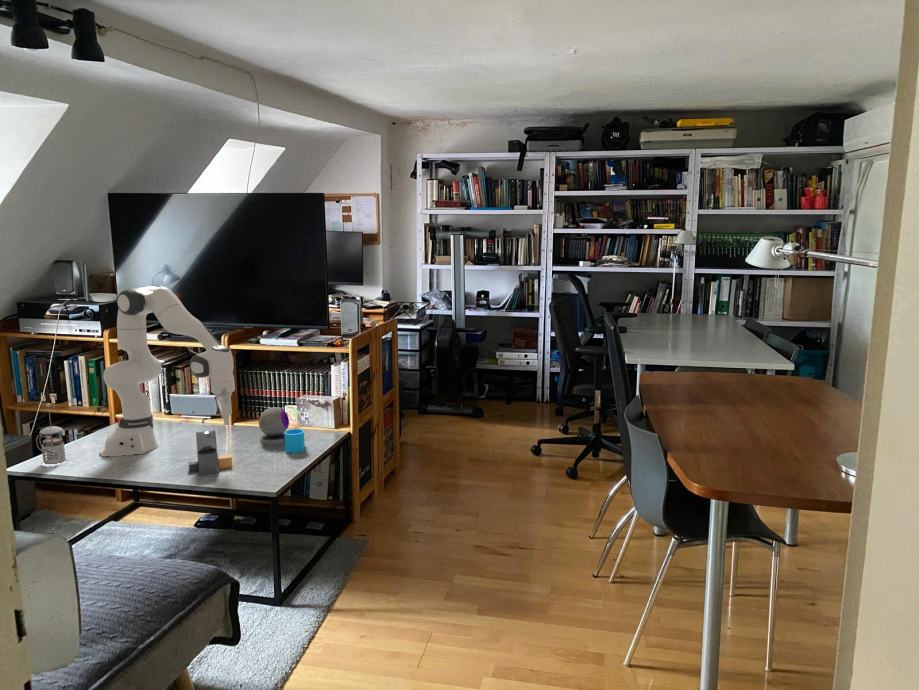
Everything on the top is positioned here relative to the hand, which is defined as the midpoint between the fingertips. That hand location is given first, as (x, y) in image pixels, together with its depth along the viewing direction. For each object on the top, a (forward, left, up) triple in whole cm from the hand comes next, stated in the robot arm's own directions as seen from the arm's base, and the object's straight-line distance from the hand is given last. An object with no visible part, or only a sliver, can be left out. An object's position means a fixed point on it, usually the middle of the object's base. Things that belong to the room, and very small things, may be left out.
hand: (225, 421), depth 271 cm
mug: (+29, +10, -19) cm, 36 cm away
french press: (-65, +32, -19) cm, 75 cm away
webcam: (+22, +26, -19) cm, 39 cm away
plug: (-7, 0, -19) cm, 20 cm away
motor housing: (-8, 0, -18) cm, 20 cm away
